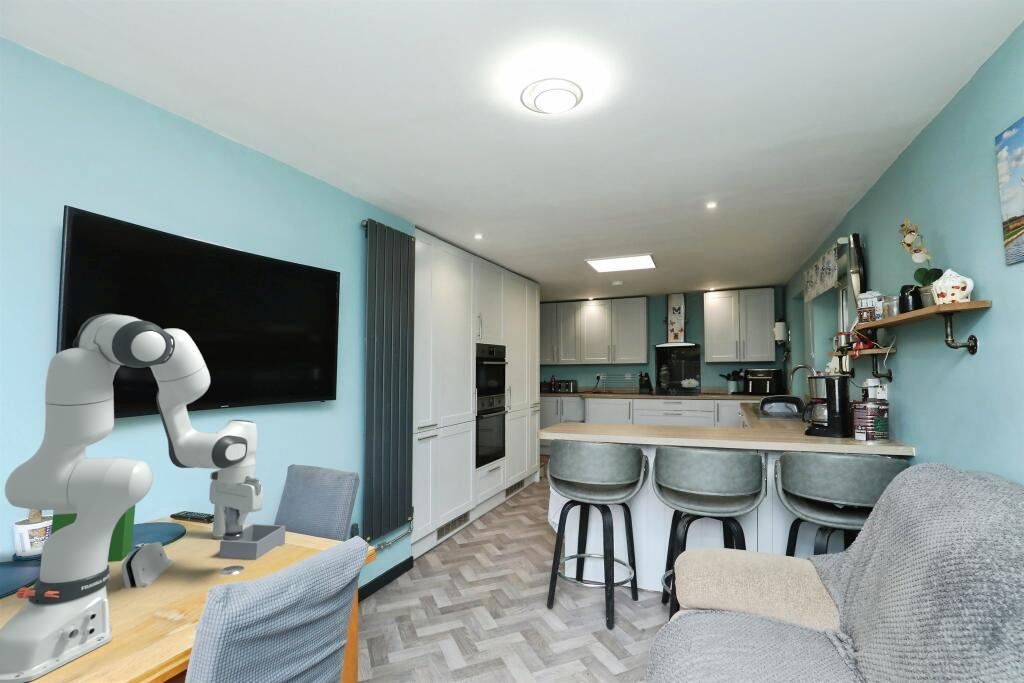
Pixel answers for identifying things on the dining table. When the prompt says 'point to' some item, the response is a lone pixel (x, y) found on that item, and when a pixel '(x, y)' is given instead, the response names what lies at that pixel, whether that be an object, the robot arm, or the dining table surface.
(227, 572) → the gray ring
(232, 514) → the grey knob
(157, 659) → the dining table surface
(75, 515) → the hardback book
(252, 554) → the bin
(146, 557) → the white curved housing
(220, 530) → the travel mug
